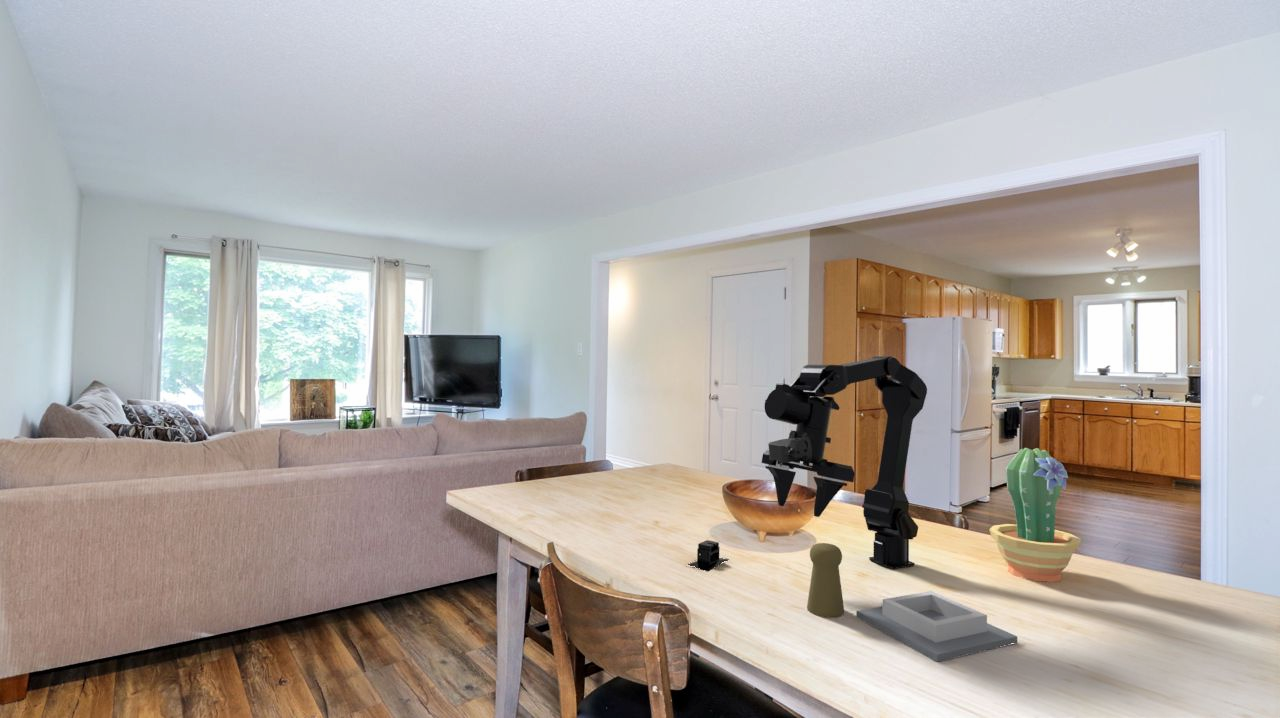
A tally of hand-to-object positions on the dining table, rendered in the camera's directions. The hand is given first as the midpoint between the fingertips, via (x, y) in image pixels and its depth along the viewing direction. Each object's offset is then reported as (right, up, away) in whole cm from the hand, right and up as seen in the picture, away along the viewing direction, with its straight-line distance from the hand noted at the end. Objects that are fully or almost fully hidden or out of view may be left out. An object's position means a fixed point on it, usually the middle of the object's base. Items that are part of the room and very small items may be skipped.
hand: (798, 511), depth 113 cm
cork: (+2, -14, -12) cm, 18 cm away
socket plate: (+16, -14, -19) cm, 28 cm away
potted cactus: (+49, -15, +7) cm, 52 cm away
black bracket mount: (-15, -15, +13) cm, 25 cm away
